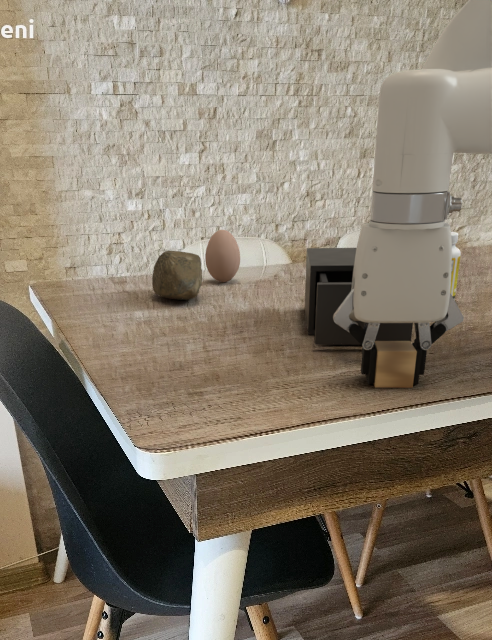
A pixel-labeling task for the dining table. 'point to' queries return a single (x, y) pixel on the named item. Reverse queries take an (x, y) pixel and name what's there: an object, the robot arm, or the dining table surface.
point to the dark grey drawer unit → (323, 262)
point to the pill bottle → (454, 264)
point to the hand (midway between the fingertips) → (391, 378)
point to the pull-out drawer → (328, 300)
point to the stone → (177, 275)
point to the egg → (222, 256)
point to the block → (395, 364)
